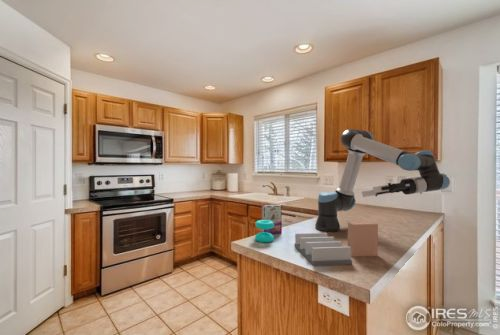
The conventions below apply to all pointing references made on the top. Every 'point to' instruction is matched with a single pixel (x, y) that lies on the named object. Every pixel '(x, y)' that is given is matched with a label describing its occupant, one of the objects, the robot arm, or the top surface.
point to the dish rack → (322, 249)
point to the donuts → (264, 235)
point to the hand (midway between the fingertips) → (367, 192)
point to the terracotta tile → (363, 238)
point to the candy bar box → (273, 217)
